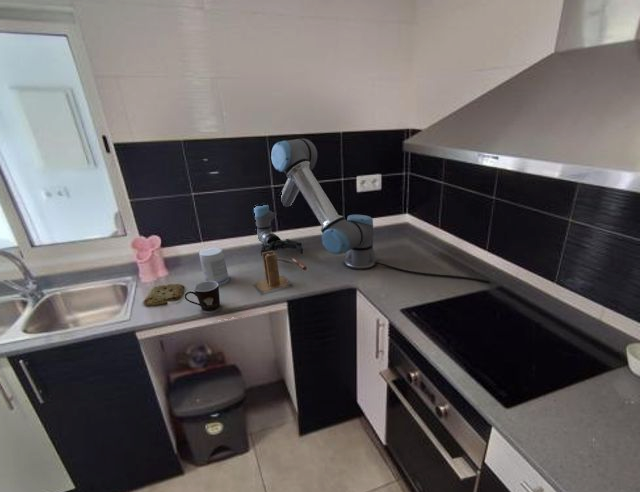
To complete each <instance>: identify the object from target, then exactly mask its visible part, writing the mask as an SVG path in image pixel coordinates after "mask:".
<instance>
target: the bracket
mask: <svg viewBox="0 0 640 492" xmlns="http://www.w3.org/2000/svg"><path fill="white" fill-rule="evenodd" d="M266 254H272V255H267V256H266ZM261 257H262V263H263V270H264V277H265V278H264V279H263V280H259V281H255V282H254V284H255V286H256V287H257V288H258V289H259V290H260V291H261V292H266V291H267V292H268V291H270V290H271V291H272V290H275V289H279V288H283V287H286V286H291V285H293V283H292V282H291V281H289V280H288V279H287V278H286V277H285V276H284V275H280V273H279V272H280V271H279V264H278V263H279V261H277V258H278V255H277V253H274V251H268V252H263V253H262V256H261ZM265 257H266V259H265Z"/></svg>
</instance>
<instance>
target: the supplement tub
mask: <svg viewBox="0 0 640 492" xmlns="http://www.w3.org/2000/svg"><path fill="white" fill-rule="evenodd" d="M198 255H199V260H200V264H201V268H202V272H203V275H204V280H205V282H206V281H215V282H217V283H218V284H219V285H220V286H221V285H223V284H226V283H227V282H229V280H230V277H229V273H228V268H227V263H226V259H225V254H224V251H223V248H221V247H208V248H205V249H201V250H200V251H199V254H198Z"/></svg>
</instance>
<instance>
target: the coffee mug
mask: <svg viewBox="0 0 640 492" xmlns="http://www.w3.org/2000/svg"><path fill="white" fill-rule="evenodd" d="M193 290H194V291H187V292H186V293H185V294H184V299H185V300H186V301H187V302H189V303H191V304H194V305H196V306H199V307H200V308H201V310H202V311H203V312H213V311H216V310H218V309H219V308H220V307H221V301H220V287H219V284H218V283H217V282H215V281H206V280H205V281H202V282H199V283H197V284H196V285H194V286H193ZM190 294H192V295H194V296H195V297H196V298H197V301H198V302H196V301H193V300H190V299H188V298H187V296H188V295H190Z"/></svg>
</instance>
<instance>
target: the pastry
mask: <svg viewBox="0 0 640 492" xmlns="http://www.w3.org/2000/svg"><path fill="white" fill-rule="evenodd" d="M184 287H185V285H183V284H180V283H170V284H162V285H157V286H154V287H152V288H151V289H150V291H149V292H148V295H147V296H146V297H145V299H144V300H143V303H142V304H143V305H144V306H149V307H150V306H160V305H165V304H167V305H168V302H177V301H179V300H180V299H181V298H182V295H184Z"/></svg>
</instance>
